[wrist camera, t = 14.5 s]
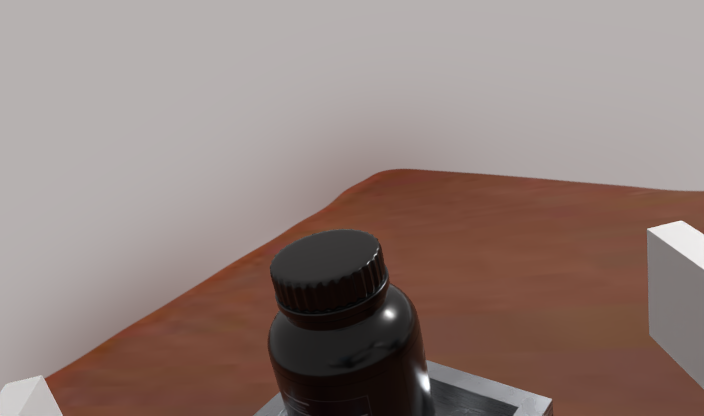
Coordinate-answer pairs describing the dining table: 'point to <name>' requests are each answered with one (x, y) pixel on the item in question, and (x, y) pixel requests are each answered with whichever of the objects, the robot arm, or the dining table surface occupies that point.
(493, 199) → the dining table surface
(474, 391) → the shadow box frame
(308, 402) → the supplement bottle
